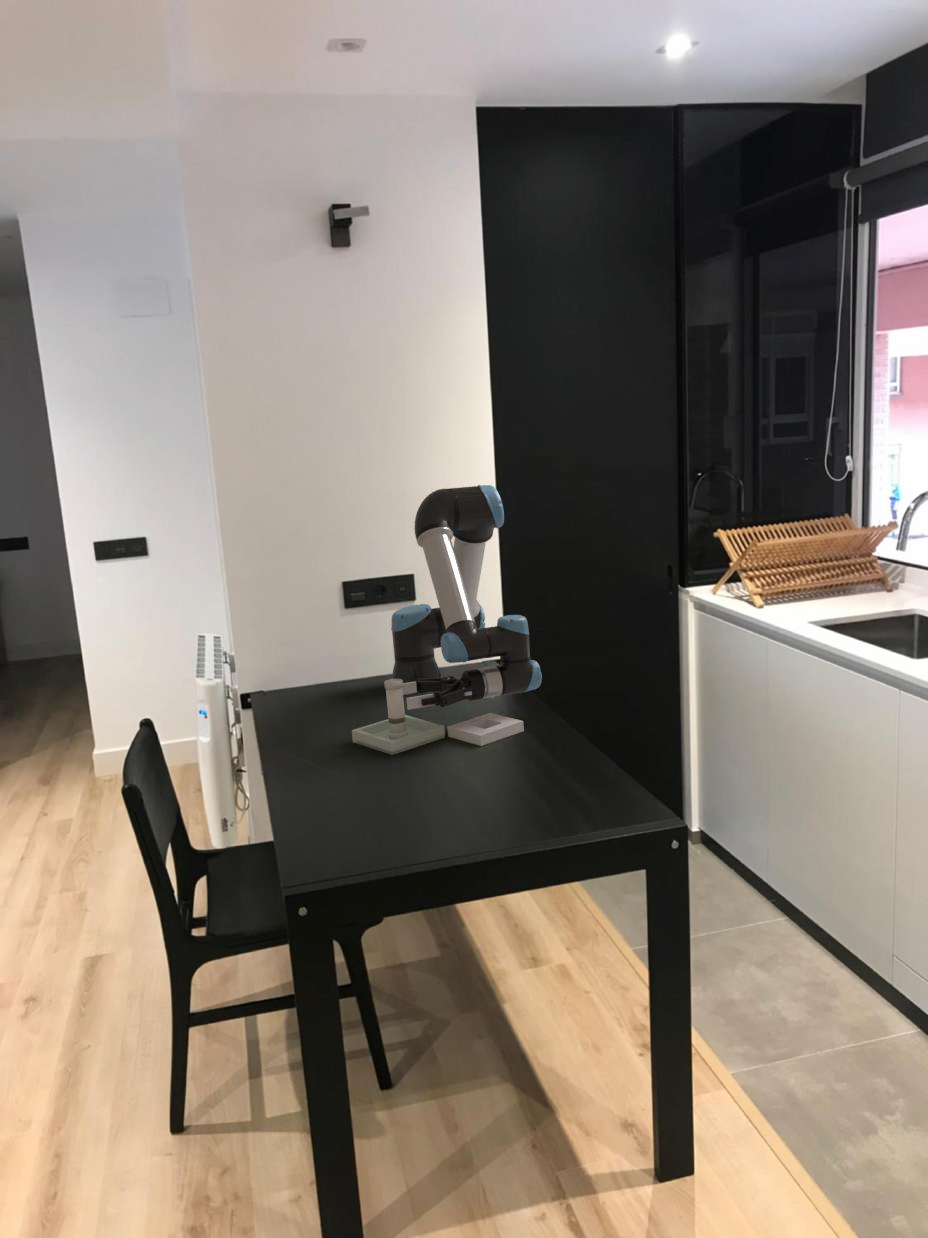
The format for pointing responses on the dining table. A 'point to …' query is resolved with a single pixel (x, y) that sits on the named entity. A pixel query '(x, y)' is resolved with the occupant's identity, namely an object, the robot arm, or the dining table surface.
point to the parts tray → (416, 736)
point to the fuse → (395, 708)
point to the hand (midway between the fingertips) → (398, 697)
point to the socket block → (485, 729)
